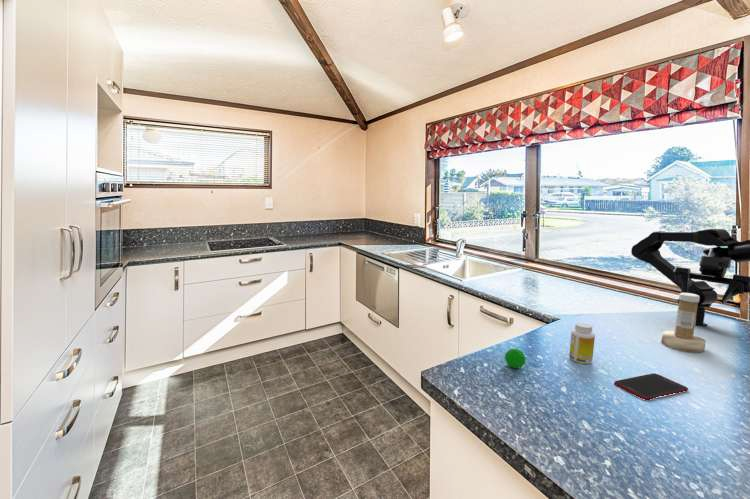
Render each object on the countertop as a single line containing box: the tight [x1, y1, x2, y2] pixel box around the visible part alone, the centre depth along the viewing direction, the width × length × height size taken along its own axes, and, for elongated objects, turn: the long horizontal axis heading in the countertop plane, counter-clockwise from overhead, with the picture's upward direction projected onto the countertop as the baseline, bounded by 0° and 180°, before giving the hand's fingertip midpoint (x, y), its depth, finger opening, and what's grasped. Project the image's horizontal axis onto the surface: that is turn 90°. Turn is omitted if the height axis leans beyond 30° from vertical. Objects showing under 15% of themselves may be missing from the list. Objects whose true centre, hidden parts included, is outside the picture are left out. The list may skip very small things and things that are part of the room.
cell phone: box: [613, 373, 689, 401], centre depth 83 cm, size 8×15×1 cm, turn 108°
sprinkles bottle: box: [674, 292, 700, 339], centre depth 105 cm, size 5×5×13 cm
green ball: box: [504, 348, 527, 369], centre depth 92 cm, size 5×5×5 cm
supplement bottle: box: [568, 322, 596, 365], centre depth 96 cm, size 6×6×10 cm
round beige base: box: [660, 330, 707, 354], centre depth 106 cm, size 10×10×3 cm
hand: (702, 299), depth 114 cm, fingers open, 9 cm apart
